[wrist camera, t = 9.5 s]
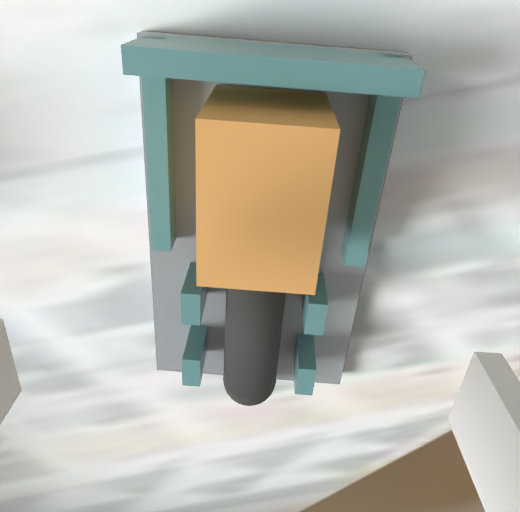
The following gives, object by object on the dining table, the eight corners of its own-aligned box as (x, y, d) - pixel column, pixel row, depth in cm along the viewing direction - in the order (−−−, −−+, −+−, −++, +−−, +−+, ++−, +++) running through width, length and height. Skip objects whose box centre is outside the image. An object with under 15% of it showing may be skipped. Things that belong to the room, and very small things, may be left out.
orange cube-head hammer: (287, 380, 30) (289, 462, 25) (211, 374, 30) (197, 455, 25) (325, 92, 21) (340, 129, 16) (216, 84, 21) (195, 118, 16)
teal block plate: (338, 373, 31) (347, 435, 27) (160, 359, 31) (141, 419, 27) (407, 52, 21) (439, 70, 17) (142, 30, 21) (107, 43, 17)
